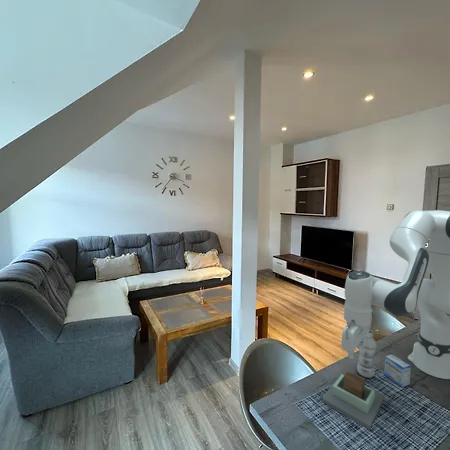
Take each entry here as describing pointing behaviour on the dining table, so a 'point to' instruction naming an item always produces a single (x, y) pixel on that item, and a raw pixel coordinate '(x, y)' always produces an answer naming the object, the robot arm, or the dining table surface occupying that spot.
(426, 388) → the dining table surface
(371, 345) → the plastic bottle
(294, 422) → the dining table surface
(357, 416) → the board
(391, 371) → the medicine box
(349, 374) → the walnut block
